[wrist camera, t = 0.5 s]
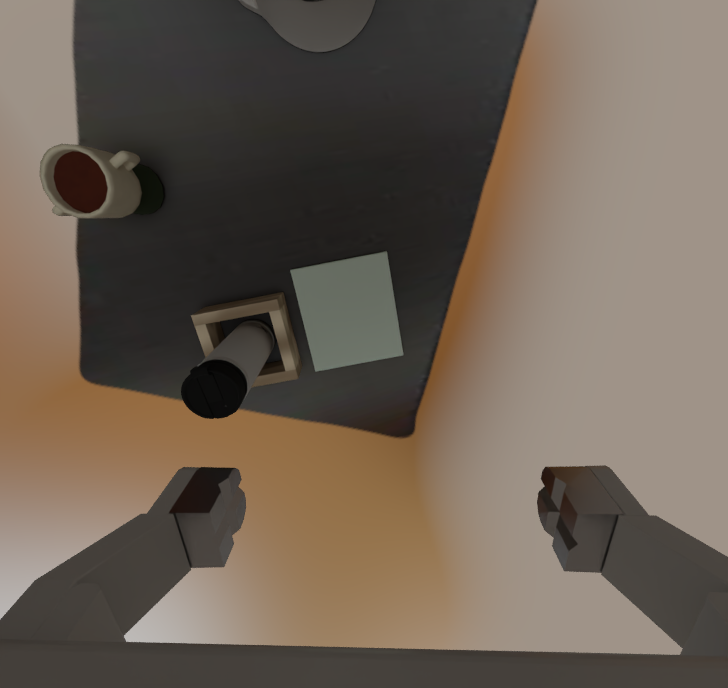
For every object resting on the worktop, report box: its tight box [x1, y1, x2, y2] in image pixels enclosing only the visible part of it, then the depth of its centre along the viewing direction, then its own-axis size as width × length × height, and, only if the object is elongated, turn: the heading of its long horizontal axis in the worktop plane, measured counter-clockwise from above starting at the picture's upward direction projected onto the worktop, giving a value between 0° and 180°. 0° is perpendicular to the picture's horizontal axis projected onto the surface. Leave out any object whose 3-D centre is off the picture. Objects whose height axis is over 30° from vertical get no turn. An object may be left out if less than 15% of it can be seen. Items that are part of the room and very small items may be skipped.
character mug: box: [40, 144, 164, 218], centre depth 44 cm, size 11×7×13 cm, turn 124°
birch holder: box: [191, 292, 302, 387], centre depth 55 cm, size 12×12×5 cm
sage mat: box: [290, 251, 403, 372], centre depth 56 cm, size 16×14×1 cm
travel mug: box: [181, 319, 275, 419], centre depth 48 cm, size 6×7×20 cm
